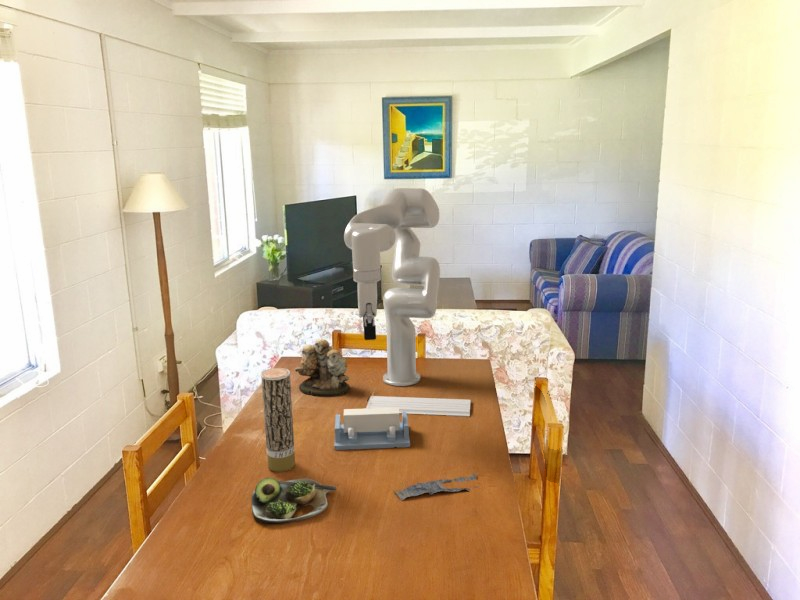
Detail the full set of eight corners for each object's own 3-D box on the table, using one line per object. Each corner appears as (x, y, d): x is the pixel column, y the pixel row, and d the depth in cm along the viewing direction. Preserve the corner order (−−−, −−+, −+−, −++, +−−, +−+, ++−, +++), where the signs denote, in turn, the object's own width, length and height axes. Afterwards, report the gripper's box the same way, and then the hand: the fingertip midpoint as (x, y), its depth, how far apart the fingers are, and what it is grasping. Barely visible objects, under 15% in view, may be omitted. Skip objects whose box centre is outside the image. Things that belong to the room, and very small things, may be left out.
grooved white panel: (469, 421, 191) (470, 404, 202) (469, 411, 190) (470, 395, 202) (364, 416, 195) (370, 400, 206) (363, 407, 194) (370, 391, 206)
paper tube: (262, 467, 165) (255, 373, 159) (284, 457, 170) (278, 366, 164) (278, 476, 161) (272, 380, 154) (300, 465, 165) (295, 372, 159)
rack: (334, 450, 173) (333, 432, 172) (336, 428, 186) (335, 411, 184) (410, 446, 174) (410, 428, 173) (406, 425, 187) (406, 408, 186)
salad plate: (331, 477, 161) (330, 460, 159) (344, 517, 144) (343, 498, 143) (250, 489, 156) (248, 471, 155) (253, 531, 139) (252, 512, 138)
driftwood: (397, 503, 149) (397, 495, 149) (391, 488, 156) (390, 480, 155) (483, 493, 153) (483, 485, 153) (474, 478, 160) (474, 470, 159)
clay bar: (344, 432, 177) (343, 415, 176) (344, 426, 181) (343, 409, 180) (399, 430, 178) (399, 413, 177) (398, 423, 182) (398, 407, 181)
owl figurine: (291, 395, 210) (287, 344, 206) (302, 382, 221) (299, 333, 217) (346, 398, 207) (343, 346, 203) (354, 384, 218) (352, 335, 214)
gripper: (353, 267, 187) (355, 324, 193) (353, 283, 171) (356, 345, 176) (379, 266, 188) (381, 322, 193) (382, 282, 172) (384, 343, 177)
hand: (369, 333), depth 185 cm, fingers open, 9 cm apart
